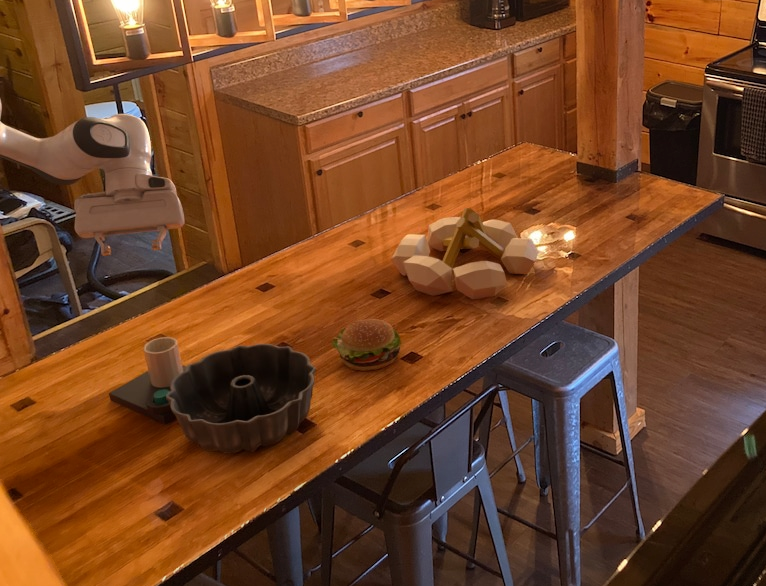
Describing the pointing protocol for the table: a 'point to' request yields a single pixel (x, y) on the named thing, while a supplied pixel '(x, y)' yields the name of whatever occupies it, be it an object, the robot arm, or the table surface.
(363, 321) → the food
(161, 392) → the button
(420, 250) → the campfire
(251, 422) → the bundt pan
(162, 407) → the scale
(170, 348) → the white cup
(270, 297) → the table surface
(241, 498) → the table surface
